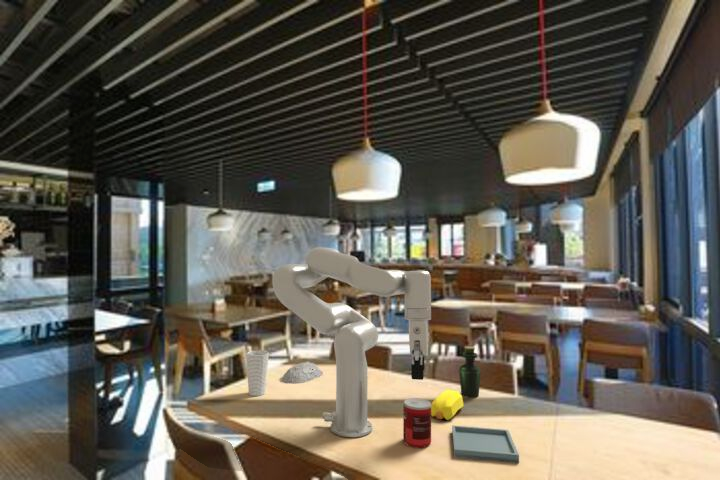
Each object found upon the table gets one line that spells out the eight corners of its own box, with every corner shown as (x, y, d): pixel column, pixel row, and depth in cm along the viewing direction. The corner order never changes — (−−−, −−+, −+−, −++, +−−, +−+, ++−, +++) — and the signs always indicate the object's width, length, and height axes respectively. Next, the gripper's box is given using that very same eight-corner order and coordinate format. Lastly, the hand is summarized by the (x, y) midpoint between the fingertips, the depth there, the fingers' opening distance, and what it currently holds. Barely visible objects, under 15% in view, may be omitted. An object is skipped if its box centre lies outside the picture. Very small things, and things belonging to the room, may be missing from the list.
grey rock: (330, 370, 191) (329, 355, 191) (303, 388, 167) (301, 372, 168) (301, 370, 196) (300, 356, 197) (271, 388, 173) (269, 371, 173)
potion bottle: (477, 391, 162) (477, 345, 163) (483, 398, 154) (483, 349, 155) (456, 391, 162) (456, 345, 163) (461, 398, 154) (461, 349, 155)
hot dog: (466, 407, 145) (445, 403, 149) (466, 388, 145) (445, 384, 149) (449, 424, 130) (426, 419, 134) (449, 403, 130) (426, 398, 134)
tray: (454, 457, 108) (454, 449, 108) (452, 432, 123) (452, 425, 124) (519, 463, 105) (518, 455, 105) (508, 436, 120) (508, 429, 121)
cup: (265, 397, 153) (266, 355, 154) (242, 397, 153) (243, 355, 154) (270, 390, 161) (271, 350, 162) (249, 390, 161) (249, 350, 162)
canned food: (412, 434, 122) (412, 396, 122) (436, 441, 117) (436, 402, 117) (397, 442, 116) (397, 402, 117) (422, 451, 111) (422, 409, 111)
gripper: (430, 318, 109) (431, 384, 108) (431, 310, 126) (431, 367, 125) (402, 317, 110) (402, 382, 109) (406, 310, 127) (407, 366, 126)
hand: (418, 374), depth 117 cm, fingers open, 9 cm apart
